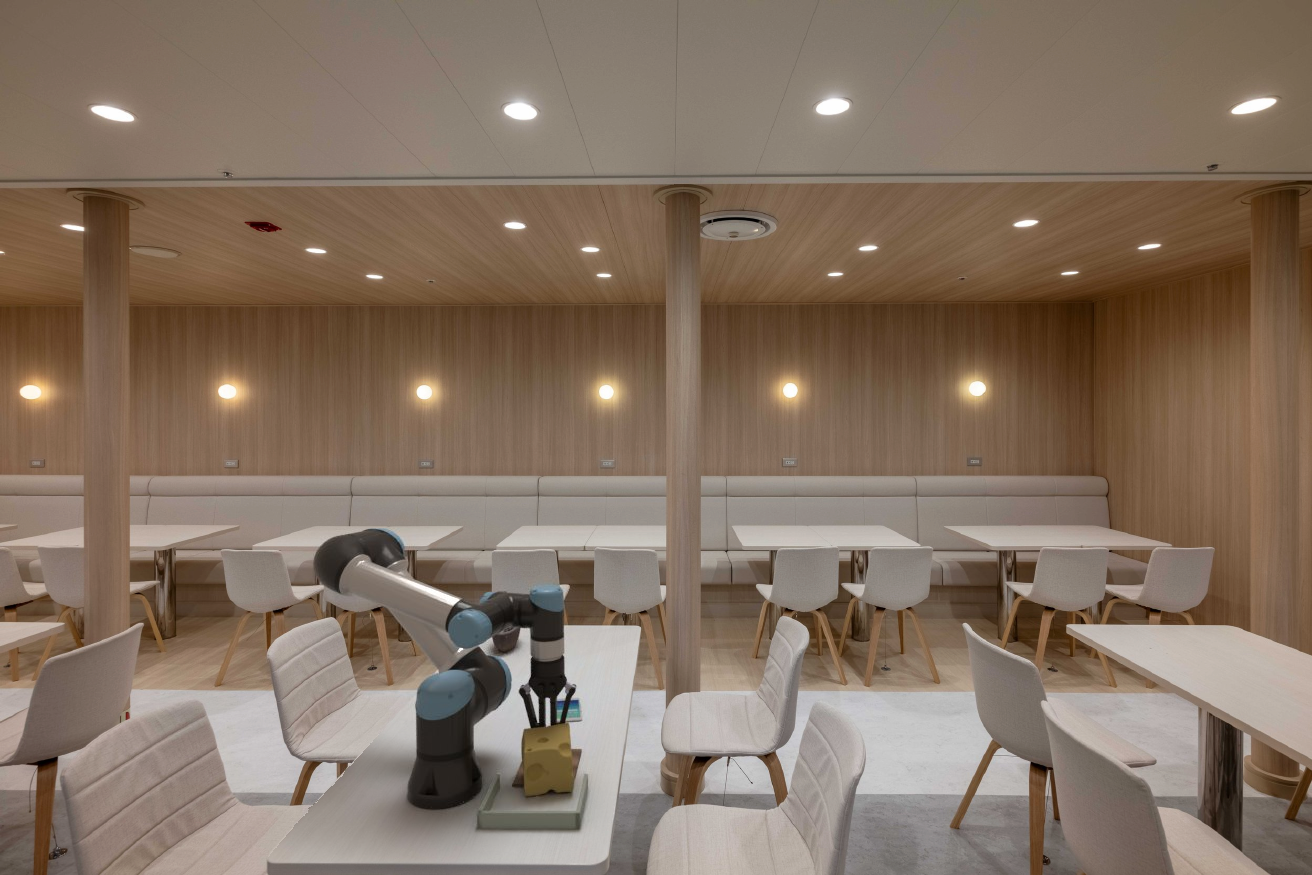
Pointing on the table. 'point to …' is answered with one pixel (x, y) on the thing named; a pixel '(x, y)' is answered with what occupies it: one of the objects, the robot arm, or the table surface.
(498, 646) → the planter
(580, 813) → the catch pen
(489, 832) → the table surface
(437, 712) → the robot arm
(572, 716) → the smartphone
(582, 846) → the table surface
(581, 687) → the table surface
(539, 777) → the cheese
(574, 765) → the serving board
